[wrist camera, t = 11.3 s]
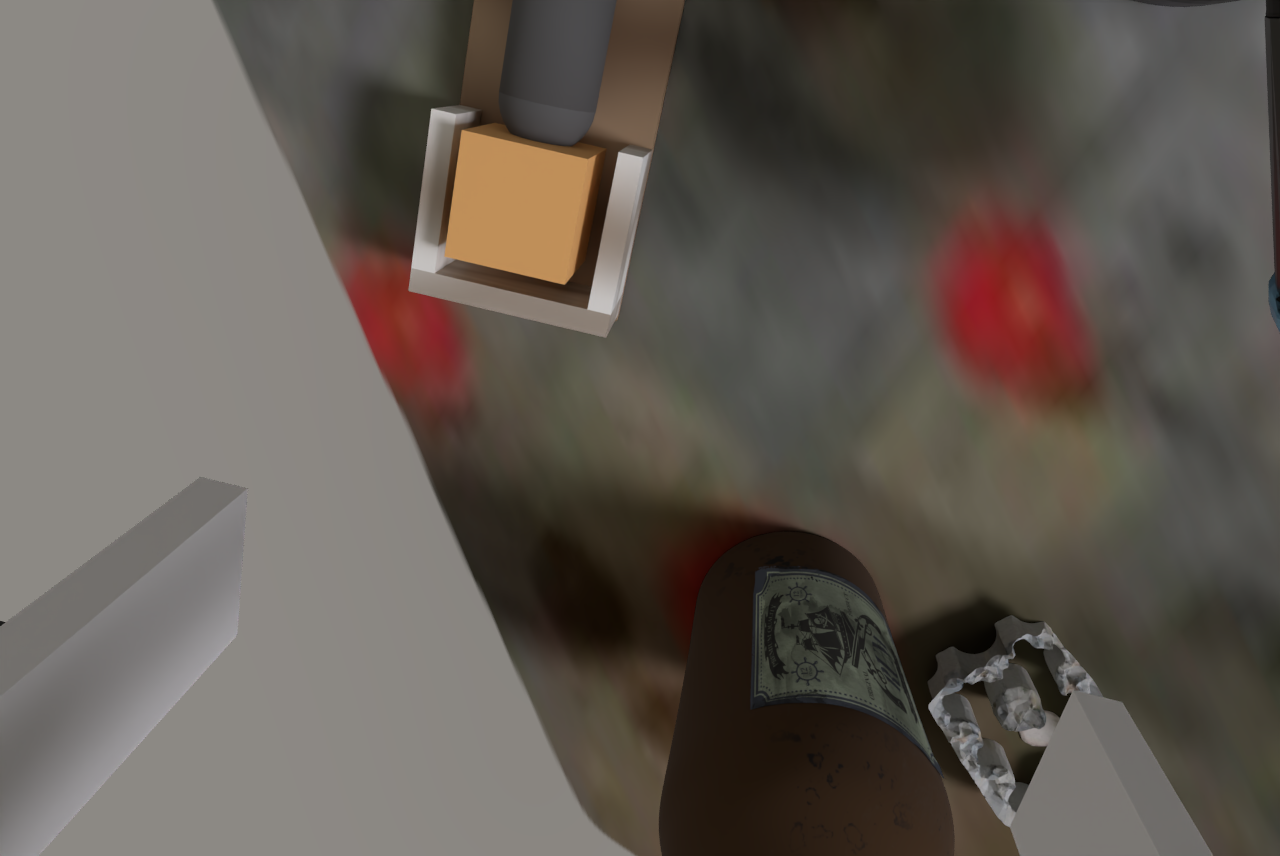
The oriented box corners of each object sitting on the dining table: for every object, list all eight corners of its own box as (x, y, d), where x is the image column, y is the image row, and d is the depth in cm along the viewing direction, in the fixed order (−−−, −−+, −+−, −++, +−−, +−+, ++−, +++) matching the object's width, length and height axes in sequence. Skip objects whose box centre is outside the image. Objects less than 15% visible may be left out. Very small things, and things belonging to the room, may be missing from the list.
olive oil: (840, 725, 51) (917, 1267, 28) (655, 656, 51) (577, 1146, 28) (929, 563, 48) (1103, 1036, 24) (730, 487, 47) (712, 892, 24)
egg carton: (1134, 746, 50) (1166, 803, 47) (1000, 801, 53) (1020, 859, 49) (1043, 593, 48) (1069, 639, 44) (906, 657, 50) (919, 706, 46)
